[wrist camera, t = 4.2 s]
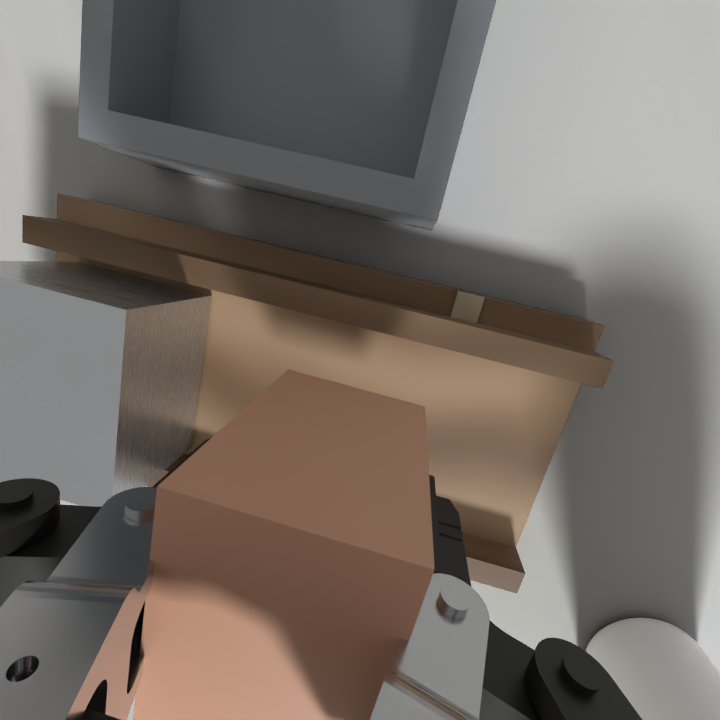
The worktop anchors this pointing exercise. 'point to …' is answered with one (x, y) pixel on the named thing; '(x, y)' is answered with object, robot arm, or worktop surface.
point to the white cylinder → (659, 669)
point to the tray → (288, 94)
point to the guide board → (366, 354)
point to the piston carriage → (95, 376)
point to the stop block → (289, 559)
